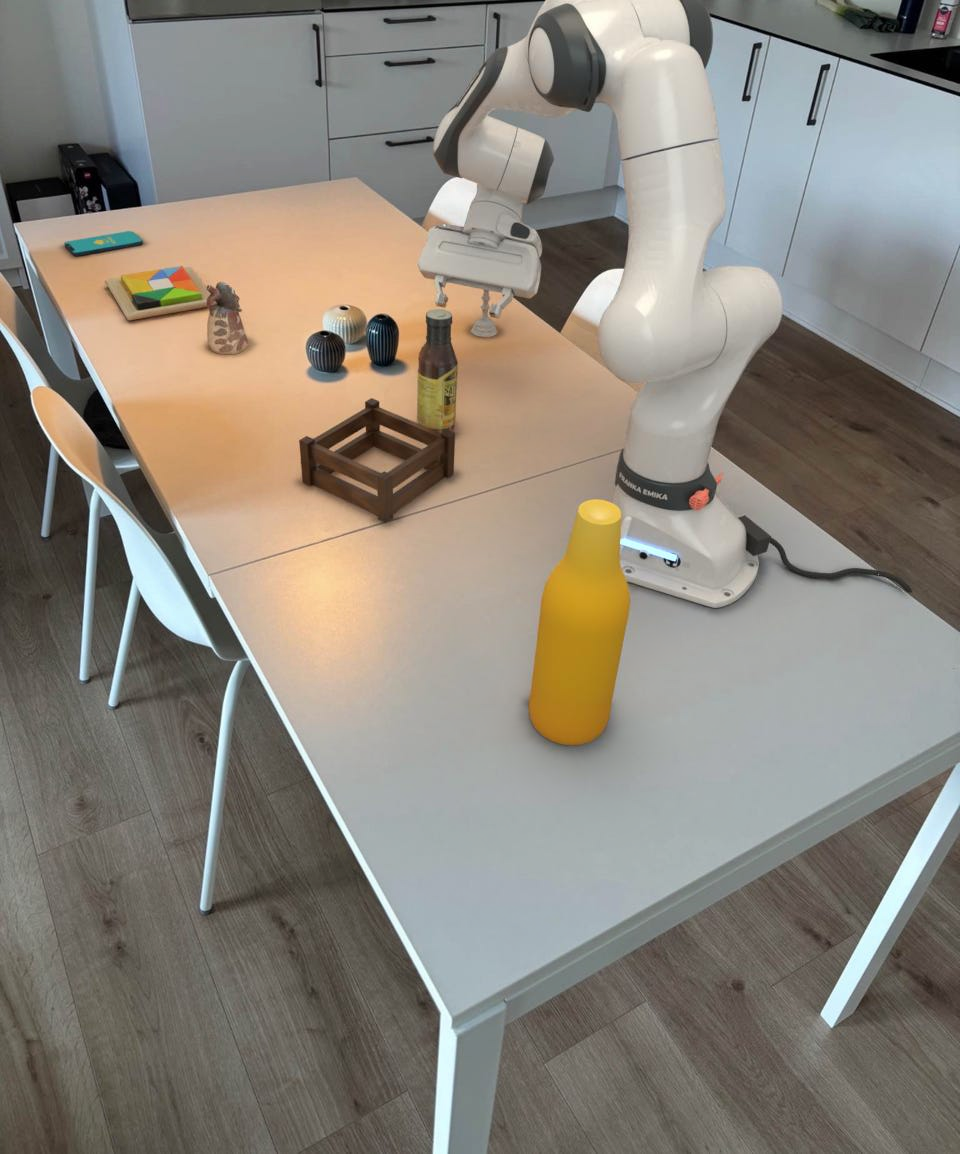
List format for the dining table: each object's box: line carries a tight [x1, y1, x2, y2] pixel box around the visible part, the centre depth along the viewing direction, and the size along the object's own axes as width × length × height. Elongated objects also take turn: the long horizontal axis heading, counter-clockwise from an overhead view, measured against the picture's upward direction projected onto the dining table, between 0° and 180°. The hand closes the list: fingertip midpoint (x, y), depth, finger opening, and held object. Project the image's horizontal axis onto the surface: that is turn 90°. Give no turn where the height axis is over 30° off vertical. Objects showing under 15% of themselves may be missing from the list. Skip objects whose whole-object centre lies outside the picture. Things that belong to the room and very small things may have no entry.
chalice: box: [470, 289, 498, 338], centre depth 183 cm, size 7×7×18 cm
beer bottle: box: [528, 498, 631, 746], centre depth 102 cm, size 9×9×29 cm
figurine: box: [205, 281, 250, 355], centre depth 175 cm, size 7×7×12 cm
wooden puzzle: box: [104, 265, 217, 321], centre depth 192 cm, size 18×19×4 cm
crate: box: [298, 397, 456, 524], centre depth 145 cm, size 16×16×7 cm
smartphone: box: [64, 230, 144, 257], centre depth 212 cm, size 7×1×15 cm
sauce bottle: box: [416, 308, 459, 433], centre depth 153 cm, size 6×6×20 cm
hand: (466, 311), depth 158 cm, fingers open, 8 cm apart
